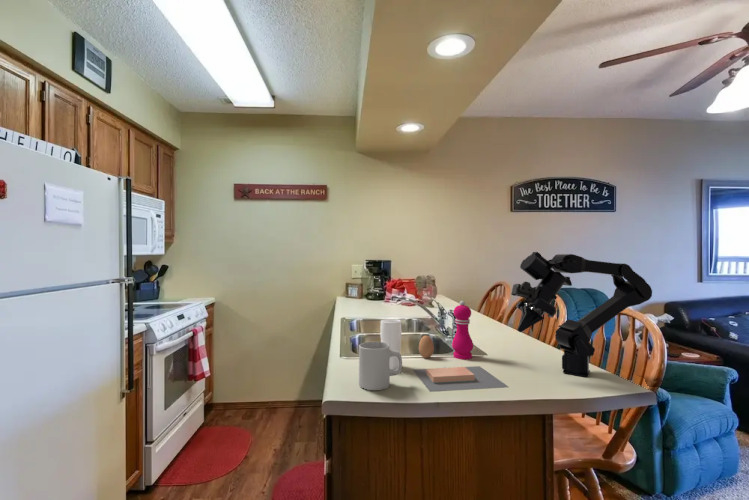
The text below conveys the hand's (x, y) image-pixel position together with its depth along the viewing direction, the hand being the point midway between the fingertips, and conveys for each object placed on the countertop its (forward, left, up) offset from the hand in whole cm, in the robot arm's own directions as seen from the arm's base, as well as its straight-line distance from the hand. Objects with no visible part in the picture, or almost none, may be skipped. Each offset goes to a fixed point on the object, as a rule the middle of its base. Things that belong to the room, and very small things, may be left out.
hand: (518, 331), depth 105 cm
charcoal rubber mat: (+14, +14, -13) cm, 24 cm away
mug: (+29, +31, -13) cm, 44 cm away
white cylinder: (+35, +17, -13) cm, 41 cm away
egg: (+31, +1, -13) cm, 33 cm away
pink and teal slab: (+11, +11, -12) cm, 20 cm away
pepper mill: (+21, -7, -13) cm, 25 cm away
